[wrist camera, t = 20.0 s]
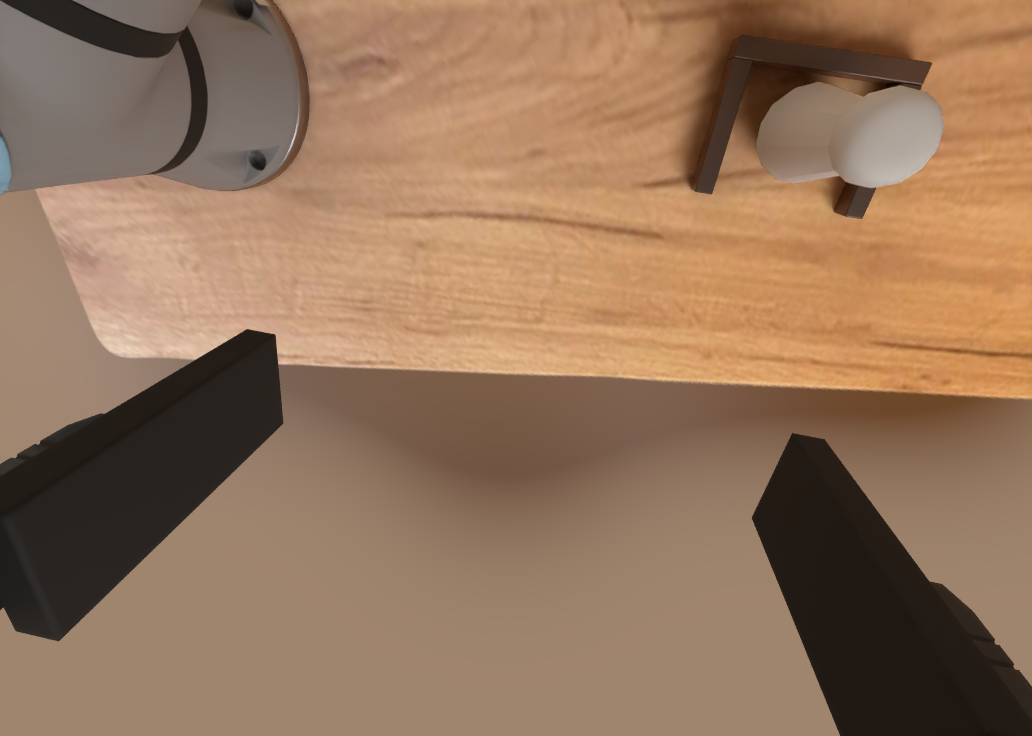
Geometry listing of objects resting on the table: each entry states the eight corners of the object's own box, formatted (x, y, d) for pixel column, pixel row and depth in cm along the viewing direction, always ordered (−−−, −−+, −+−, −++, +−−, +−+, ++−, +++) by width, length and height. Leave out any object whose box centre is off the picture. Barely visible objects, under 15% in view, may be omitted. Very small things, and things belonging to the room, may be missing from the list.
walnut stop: (690, 188, 36) (694, 191, 34) (733, 38, 32) (740, 34, 30) (850, 215, 35) (862, 219, 34) (915, 65, 31) (933, 62, 30)
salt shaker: (732, 168, 35) (802, 189, 23) (769, 76, 32) (867, 49, 21) (814, 188, 35) (924, 219, 23) (857, 97, 32) (1005, 82, 21)
